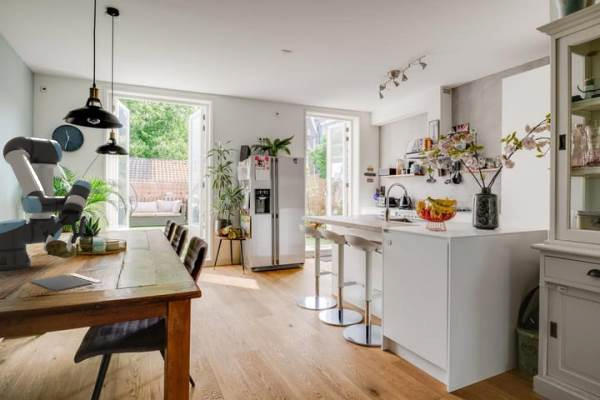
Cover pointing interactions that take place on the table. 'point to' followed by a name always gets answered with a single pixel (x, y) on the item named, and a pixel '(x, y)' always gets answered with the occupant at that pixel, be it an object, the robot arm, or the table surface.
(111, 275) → the table surface
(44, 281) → the mat
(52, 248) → the potato
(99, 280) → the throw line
